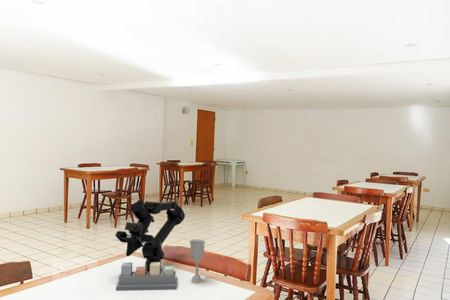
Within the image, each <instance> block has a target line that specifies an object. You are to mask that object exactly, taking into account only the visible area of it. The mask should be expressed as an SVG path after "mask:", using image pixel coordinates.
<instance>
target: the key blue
mask: <svg viewBox="0 0 450 300" xmlns="http://www.w3.org/2000/svg"><path fill="white" fill-rule="evenodd" d="M132 272H133V262H123V263H122V264H121V266H120V274H121V276H132Z"/></svg>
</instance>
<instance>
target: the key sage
mask: <svg viewBox="0 0 450 300" xmlns="http://www.w3.org/2000/svg"><path fill="white" fill-rule="evenodd" d="M163 271H164V276H168V275H174V271H175V265H173V266H172V265H171V266H166V265H165V266H164V269H163Z"/></svg>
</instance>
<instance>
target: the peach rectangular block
mask: <svg viewBox="0 0 450 300" xmlns="http://www.w3.org/2000/svg"><path fill="white" fill-rule="evenodd" d="M135 272H136V276H146V272H147V271H146V267H145V266H136V268H135Z"/></svg>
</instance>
